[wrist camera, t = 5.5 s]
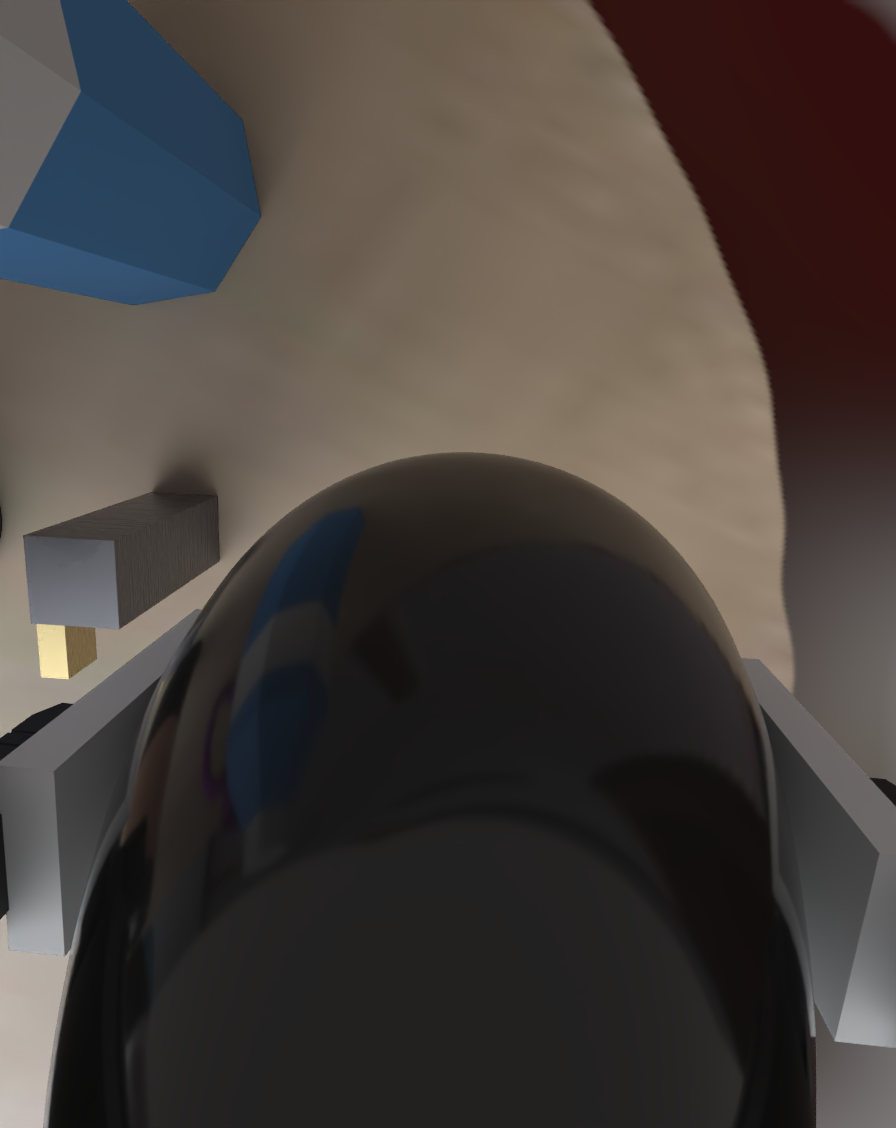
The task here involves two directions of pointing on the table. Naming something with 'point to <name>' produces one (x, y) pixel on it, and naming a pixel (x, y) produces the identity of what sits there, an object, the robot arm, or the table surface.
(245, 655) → the pump dispenser
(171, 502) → the latch post
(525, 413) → the table surface
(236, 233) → the water bottle
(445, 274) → the table surface
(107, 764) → the robot arm
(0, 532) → the travel mug
